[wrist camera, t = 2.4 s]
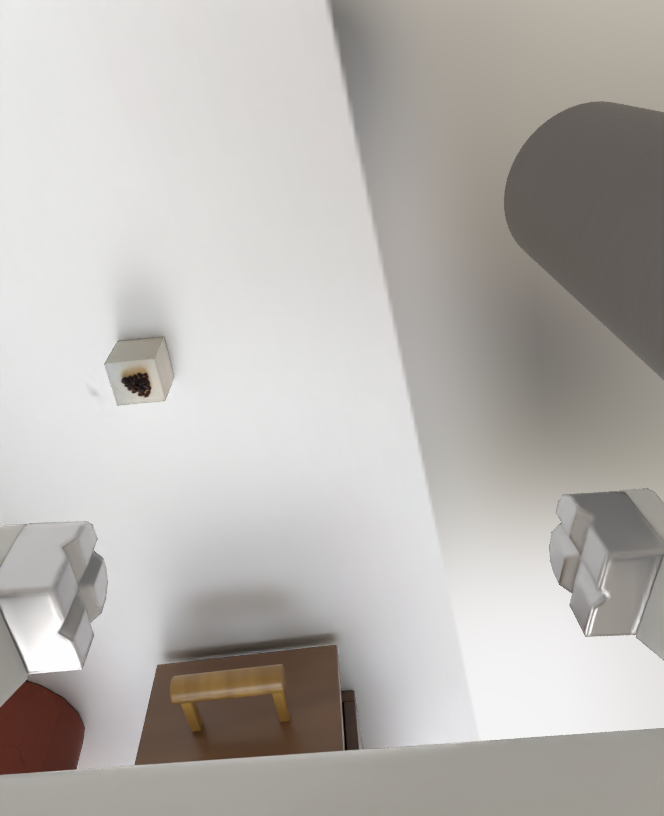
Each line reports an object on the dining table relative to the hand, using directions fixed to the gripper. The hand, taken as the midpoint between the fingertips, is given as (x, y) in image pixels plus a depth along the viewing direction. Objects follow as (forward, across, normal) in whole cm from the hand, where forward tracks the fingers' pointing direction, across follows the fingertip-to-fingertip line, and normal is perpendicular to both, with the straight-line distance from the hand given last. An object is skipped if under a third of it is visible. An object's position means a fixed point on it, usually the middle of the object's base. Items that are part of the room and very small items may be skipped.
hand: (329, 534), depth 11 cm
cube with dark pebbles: (+18, +8, +5) cm, 20 cm away
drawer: (+17, +5, +30) cm, 35 cm away
